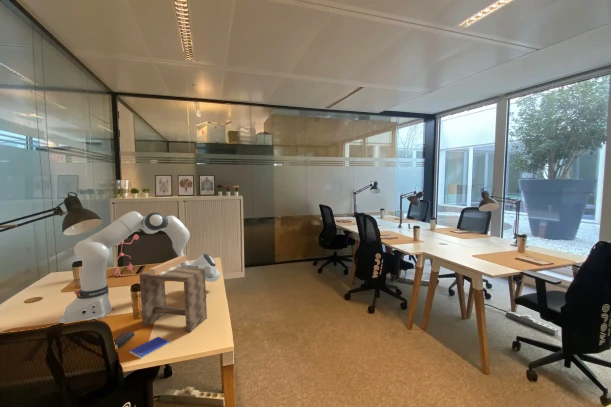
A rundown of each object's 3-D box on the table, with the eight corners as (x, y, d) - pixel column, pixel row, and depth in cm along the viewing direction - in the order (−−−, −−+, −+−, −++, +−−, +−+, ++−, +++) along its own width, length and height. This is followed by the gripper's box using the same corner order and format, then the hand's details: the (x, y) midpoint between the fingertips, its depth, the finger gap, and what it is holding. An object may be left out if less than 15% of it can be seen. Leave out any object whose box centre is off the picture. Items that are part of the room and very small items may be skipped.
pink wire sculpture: (144, 269, 231) (140, 225, 227) (109, 280, 208) (104, 231, 205) (132, 267, 238) (128, 224, 235) (97, 277, 215) (92, 229, 212)
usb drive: (134, 336, 135) (134, 330, 134) (117, 352, 123) (116, 345, 122) (123, 336, 135) (123, 330, 134) (104, 352, 123) (104, 345, 123)
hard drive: (140, 356, 117) (169, 341, 128) (129, 350, 121) (157, 336, 132) (141, 359, 117) (169, 344, 128) (129, 353, 121) (157, 339, 132)
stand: (190, 332, 136) (187, 277, 134) (142, 326, 143) (139, 273, 140) (206, 318, 150) (204, 267, 148) (163, 313, 156) (160, 264, 154)
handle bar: (155, 275, 137) (154, 269, 137) (149, 275, 138) (149, 268, 137) (187, 260, 160) (186, 255, 160) (182, 260, 161) (181, 255, 161)
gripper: (189, 265, 181) (175, 259, 169) (219, 267, 176) (207, 261, 164) (186, 275, 178) (172, 270, 166) (216, 277, 174) (204, 273, 161)
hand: (190, 266), depth 165 cm, fingers open, 8 cm apart
